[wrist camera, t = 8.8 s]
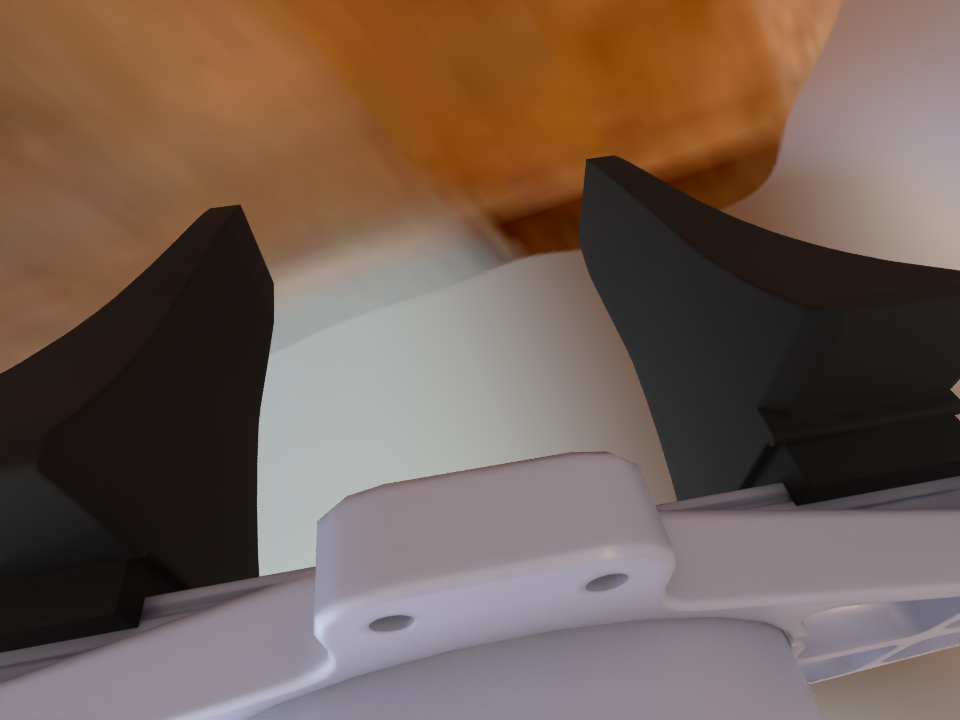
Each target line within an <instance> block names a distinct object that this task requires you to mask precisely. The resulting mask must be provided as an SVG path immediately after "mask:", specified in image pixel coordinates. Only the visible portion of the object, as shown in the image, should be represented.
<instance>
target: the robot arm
mask: <svg viewBox="0 0 960 720" xmlns="http://www.w3.org/2000/svg"><path fill="white" fill-rule="evenodd" d="M578 240H579V244H580V247H581V250H582V253H583V257H584V260H585V263H586V266H587V268H588V272H589V275H590V277H591V279H592V281H593V283H594V285H595V287H596V289H597V291H598V293H599V295H600V297H601V299H602V301H603V303H604V305H605V307H606V309H607V311H608V313H609V315H610V317H611V319H612V321H613V323H614V325H615V327H616V329H617V331H618V333H619V335H620V337H621V338H622V341H623V343H624V345H625V346H626V349H627V351H628V353H629V355H630V357H631V359H632V362H633V364H634V367H635V370H636V372H637V375H638V378H639V381H640V383H641V386H642V389H643V391H644V394H645V397H646V400H647V403H648V406H649V409H650V411H651V415H652V418H653V421H654V423H655V427H656V430H657V433H658V435H659V439H660V442H661V446H662V449H663V452H664V456H665V459H666V462H667V466H668V469H669V472H670V475H671V478H672V483H673V486H674V490H675V494H676V497H677V501H676V502H671V503H665V504H659V505H655V504H654V501H653V499H652V496H651V494H650V492H649V489H648V487H647V484H646V482H645V480H644V477H643V475H642V473H641V470H640V468H639V465H637V464H635V463H632V462H630V461H628V460H626V459H624V458H621V457H619V456H617V455H615V454H612V453H608V452H571V453H564V454H558V455H552V456H546V457H540V458H535V459H529V460H523V461H517V462H511V463H506V464H500V465H494V466H488V467H482V468H476V469H470V470H465V471H459V472H453V473H447V474H441V475H435V476H430V477H424V478H418V479H412V480H406V481H400V482H394V483H389V484H383V485H380V486H377V487H374V488H371V489H368V490H365V491H362V492H359V493H355V494H352V495H349V496H347V497H346V498H344V499H343V500H342V501H341V502H340V503H338V504H337V505H336V506H335V507H334V508H333V509H331V510H330V511H329V512H328V513H327V514H326V515H324V516H323V517H322V518H321V519H320V520H318V522H317V548H316V567H311V568H305V569H300V570H295V571H289V572H283V573H277V574H272V575H266V576H261V577H259V564H258V537H257V536H258V535H257V456H258V455H257V454H258V427H259V416H260V407H261V401H262V395H263V388H264V382H265V376H266V370H267V364H268V358H269V351H270V345H271V338H272V332H273V324H274V283H273V280H272V278H271V276H270V273H269V271H268V269H267V266H266V264H265V262H264V259H263V257H262V255H261V252H260V250H259V247H258V245H257V243H256V240H255V238H254V236H253V233H252V231H251V229H250V226H249V224H248V221H247V219H246V217H245V214H244V212H243V210H242V207H241V205H233V206H225V207H218V208H210V209H209V210H207V211H206V212H205V213H203V214H202V215H201V216H200V217H199V218H198V219H197V220H196V221H195V222H194V223H193V224H192V225H191V226H190V227H189V228H188V229H187V230H186V231H185V232H184V233H183V234H182V235H181V236H180V237H179V238H178V239H177V240H176V241H175V242H174V243H173V244H172V245H171V246H170V247H169V248H168V249H167V250H166V251H165V252H164V253H163V254H162V255H161V256H160V257H159V258H158V259H157V260H156V261H155V262H154V263H153V264H152V265H151V266H150V267H148V268H147V269H146V270H145V271H144V272H143V273H142V274H141V275H140V276H138V277H137V278H136V279H135V280H134V281H133V282H132V283H131V284H130V285H128V286H127V287H126V288H125V289H124V290H123V291H122V292H121V293H119V294H118V295H117V296H116V297H115V298H114V299H112V300H111V301H110V302H109V303H108V304H106V305H105V306H104V307H102V308H101V309H100V310H99V311H97V312H96V313H95V314H93V315H92V316H91V317H89V318H88V319H86V320H85V321H84V322H82V323H81V324H80V325H78V326H77V327H76V328H74V329H73V330H71V331H70V332H68V333H67V334H65V335H64V336H62V337H61V338H59V339H57V340H56V341H54V342H53V343H51V344H49V345H48V346H46V347H45V348H43V349H42V350H40V351H38V352H37V353H35V354H34V355H32V356H30V357H29V358H27V359H26V360H24V361H22V362H21V363H19V364H17V365H16V366H14V367H12V368H10V369H9V370H7V371H5V372H3V373H1V374H0V720H826V718H825V716H824V714H823V712H822V710H821V708H820V706H819V704H818V702H817V700H816V698H815V696H814V694H813V692H812V690H811V688H810V686H809V684H812V683H816V682H820V681H824V680H828V679H832V678H836V677H839V676H843V675H847V674H851V673H855V672H858V671H862V670H866V669H870V668H874V667H878V666H882V665H885V664H889V663H893V662H897V661H901V660H904V659H908V658H912V657H916V656H920V655H924V654H928V653H932V652H936V651H939V650H944V649H948V648H952V647H956V646H959V645H960V421H959V419H958V418H957V417H956V416H955V415H957V414H960V399H959V398H958V397H957V396H956V395H955V394H954V393H953V392H952V391H951V390H950V389H951V388H952V387H953V386H954V385H955V384H956V383H957V381H958V380H959V379H960V271H959V270H952V269H944V268H937V267H930V266H923V265H915V264H908V263H901V262H893V261H888V260H882V259H877V258H872V257H867V256H862V255H857V254H852V253H847V252H843V251H839V250H835V249H830V248H826V247H822V246H818V245H814V244H811V243H808V242H804V241H801V240H797V239H794V238H790V237H787V236H784V235H781V234H778V233H774V232H772V231H769V230H766V229H764V228H761V227H758V226H756V225H753V224H750V223H748V222H745V221H742V220H740V219H737V218H735V217H732V216H730V215H728V214H726V213H723V212H721V211H719V210H717V209H715V208H713V207H711V206H709V205H707V204H705V203H703V202H700V201H699V200H697V199H695V198H693V197H691V196H689V195H687V194H685V193H683V192H681V191H679V190H678V189H676V188H674V187H672V186H670V185H669V184H667V183H665V182H663V181H662V180H660V179H658V178H656V177H655V176H653V175H651V174H649V173H648V172H646V171H644V170H642V169H640V168H639V167H637V166H635V165H633V164H631V163H630V162H628V161H626V160H624V159H622V158H619V157H617V156H606V157H599V158H591V159H586V168H585V178H584V188H583V198H582V208H581V218H580V228H579V238H578Z"/></svg>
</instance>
